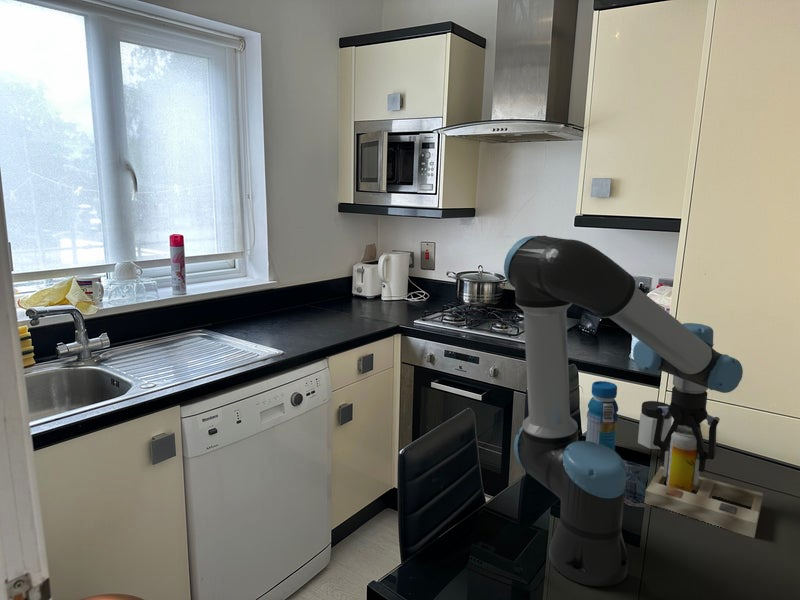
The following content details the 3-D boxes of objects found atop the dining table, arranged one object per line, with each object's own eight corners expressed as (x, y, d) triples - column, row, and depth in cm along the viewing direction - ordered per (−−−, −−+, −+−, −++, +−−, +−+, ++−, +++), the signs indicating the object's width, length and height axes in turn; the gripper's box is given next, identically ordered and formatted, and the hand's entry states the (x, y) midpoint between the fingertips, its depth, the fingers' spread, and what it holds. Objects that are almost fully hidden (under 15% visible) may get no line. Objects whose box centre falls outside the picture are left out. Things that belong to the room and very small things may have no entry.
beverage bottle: (580, 451, 162) (584, 385, 158) (590, 441, 169) (594, 377, 165) (610, 459, 157) (615, 391, 153) (619, 449, 164) (624, 383, 160)
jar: (664, 438, 171) (667, 401, 169) (674, 450, 163) (678, 411, 161) (633, 437, 172) (636, 400, 170) (642, 449, 164) (645, 410, 162)
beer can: (696, 496, 135) (703, 438, 132) (669, 493, 136) (675, 435, 134) (689, 484, 141) (695, 427, 138) (663, 481, 142) (668, 425, 140)
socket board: (644, 504, 135) (645, 489, 134) (659, 478, 147) (660, 464, 146) (754, 538, 122) (756, 522, 121) (761, 506, 134) (763, 492, 133)
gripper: (738, 392, 131) (727, 483, 136) (651, 376, 142) (643, 461, 147) (733, 401, 125) (722, 497, 130) (643, 384, 137) (635, 472, 141)
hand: (680, 478), depth 138 cm, fingers closed on beer can, 6 cm apart
